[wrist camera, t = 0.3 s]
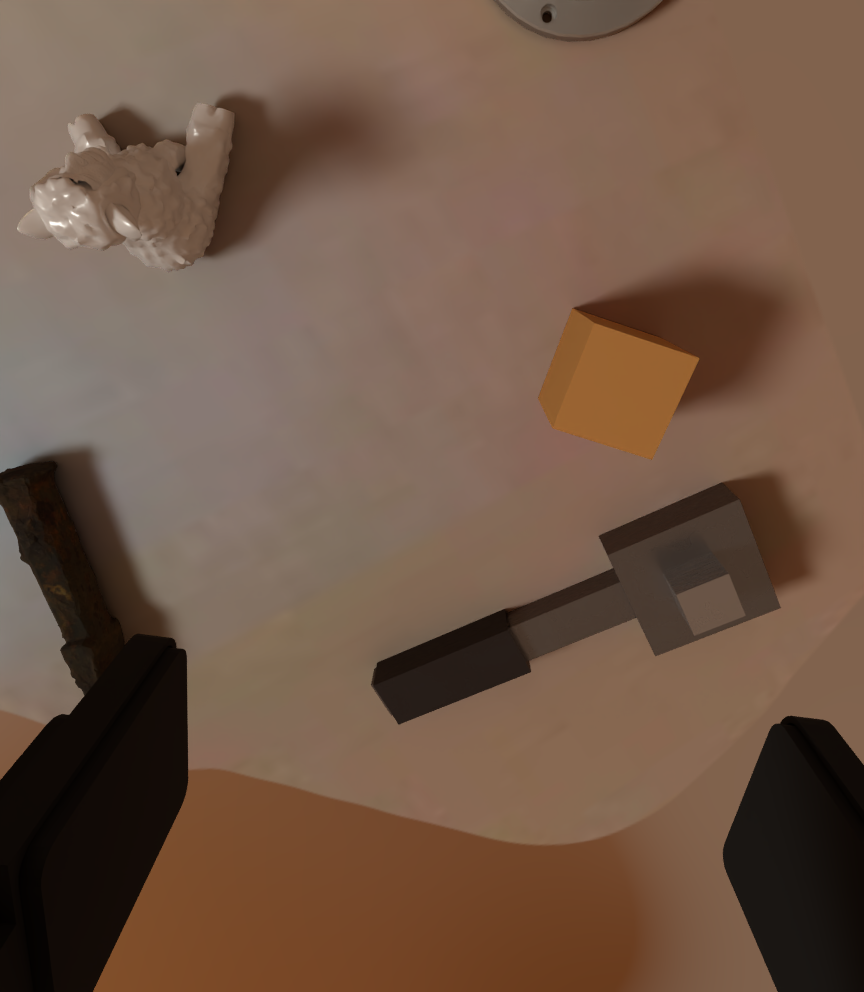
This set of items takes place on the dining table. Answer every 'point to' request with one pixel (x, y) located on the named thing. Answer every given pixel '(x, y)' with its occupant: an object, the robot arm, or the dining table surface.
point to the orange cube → (614, 384)
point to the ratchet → (602, 605)
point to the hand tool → (61, 570)
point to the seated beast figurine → (137, 192)
